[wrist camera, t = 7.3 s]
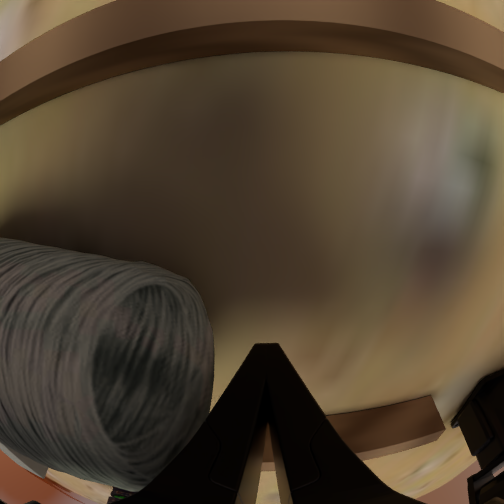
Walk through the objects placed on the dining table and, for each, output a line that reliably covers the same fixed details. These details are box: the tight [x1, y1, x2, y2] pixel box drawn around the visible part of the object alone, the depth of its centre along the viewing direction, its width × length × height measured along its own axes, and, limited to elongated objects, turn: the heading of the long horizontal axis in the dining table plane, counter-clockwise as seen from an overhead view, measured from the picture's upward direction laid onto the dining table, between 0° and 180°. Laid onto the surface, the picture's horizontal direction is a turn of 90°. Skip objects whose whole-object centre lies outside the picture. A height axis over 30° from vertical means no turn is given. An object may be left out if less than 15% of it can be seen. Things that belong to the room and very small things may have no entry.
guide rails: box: [0, 0, 504, 471], centre depth 10 cm, size 26×21×3 cm
